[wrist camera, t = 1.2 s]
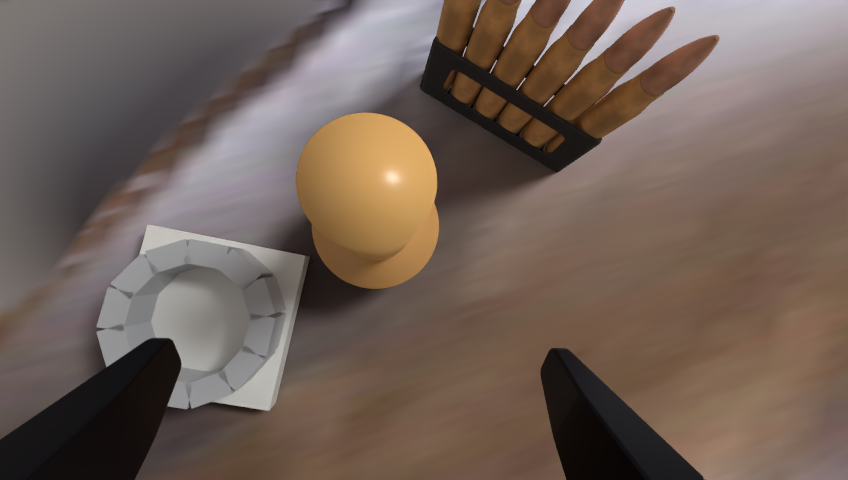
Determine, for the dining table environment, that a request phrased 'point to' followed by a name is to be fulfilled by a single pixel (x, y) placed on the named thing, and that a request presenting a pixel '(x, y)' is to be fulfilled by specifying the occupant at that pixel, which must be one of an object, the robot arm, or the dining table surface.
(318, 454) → the dining table surface
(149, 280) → the housing
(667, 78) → the ammunition clip
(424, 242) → the tan peg
